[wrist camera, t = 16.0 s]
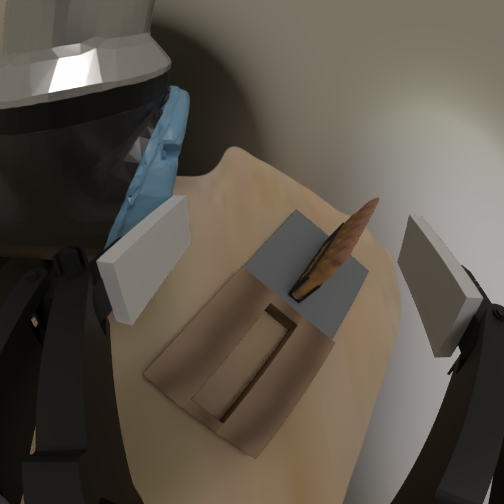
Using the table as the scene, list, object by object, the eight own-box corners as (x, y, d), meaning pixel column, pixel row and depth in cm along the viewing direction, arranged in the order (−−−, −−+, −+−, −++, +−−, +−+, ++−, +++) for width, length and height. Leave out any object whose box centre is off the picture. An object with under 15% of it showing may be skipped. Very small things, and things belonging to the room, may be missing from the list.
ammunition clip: (298, 304, 34) (355, 261, 24) (287, 294, 34) (340, 247, 24) (335, 248, 39) (386, 199, 29) (325, 240, 40) (374, 188, 29)
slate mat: (239, 271, 35) (241, 268, 34) (293, 213, 42) (296, 209, 41) (326, 343, 33) (330, 342, 33) (364, 273, 40) (368, 271, 39)
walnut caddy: (144, 375, 26) (142, 373, 24) (237, 274, 34) (242, 266, 32) (248, 454, 25) (255, 459, 23) (324, 346, 33) (335, 342, 31)
